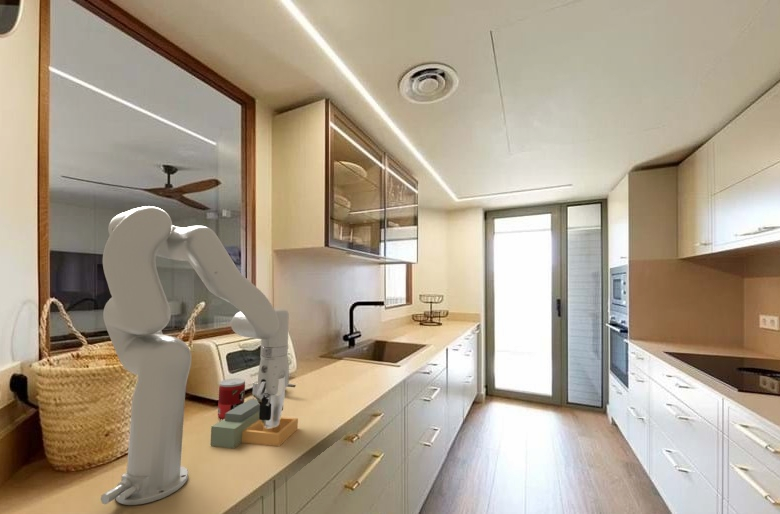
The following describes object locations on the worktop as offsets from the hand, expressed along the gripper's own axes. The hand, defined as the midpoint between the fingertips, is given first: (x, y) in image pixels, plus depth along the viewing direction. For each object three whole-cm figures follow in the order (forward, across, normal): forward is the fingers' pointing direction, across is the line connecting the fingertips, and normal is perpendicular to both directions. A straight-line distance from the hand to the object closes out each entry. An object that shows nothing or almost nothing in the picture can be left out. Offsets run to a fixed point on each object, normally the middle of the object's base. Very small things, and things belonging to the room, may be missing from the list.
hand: (271, 414), depth 94 cm
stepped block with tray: (+6, +1, +3) cm, 7 cm away
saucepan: (+6, +31, +17) cm, 36 cm away
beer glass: (+5, 0, 0) cm, 5 cm away
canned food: (+6, +10, +20) cm, 24 cm away
